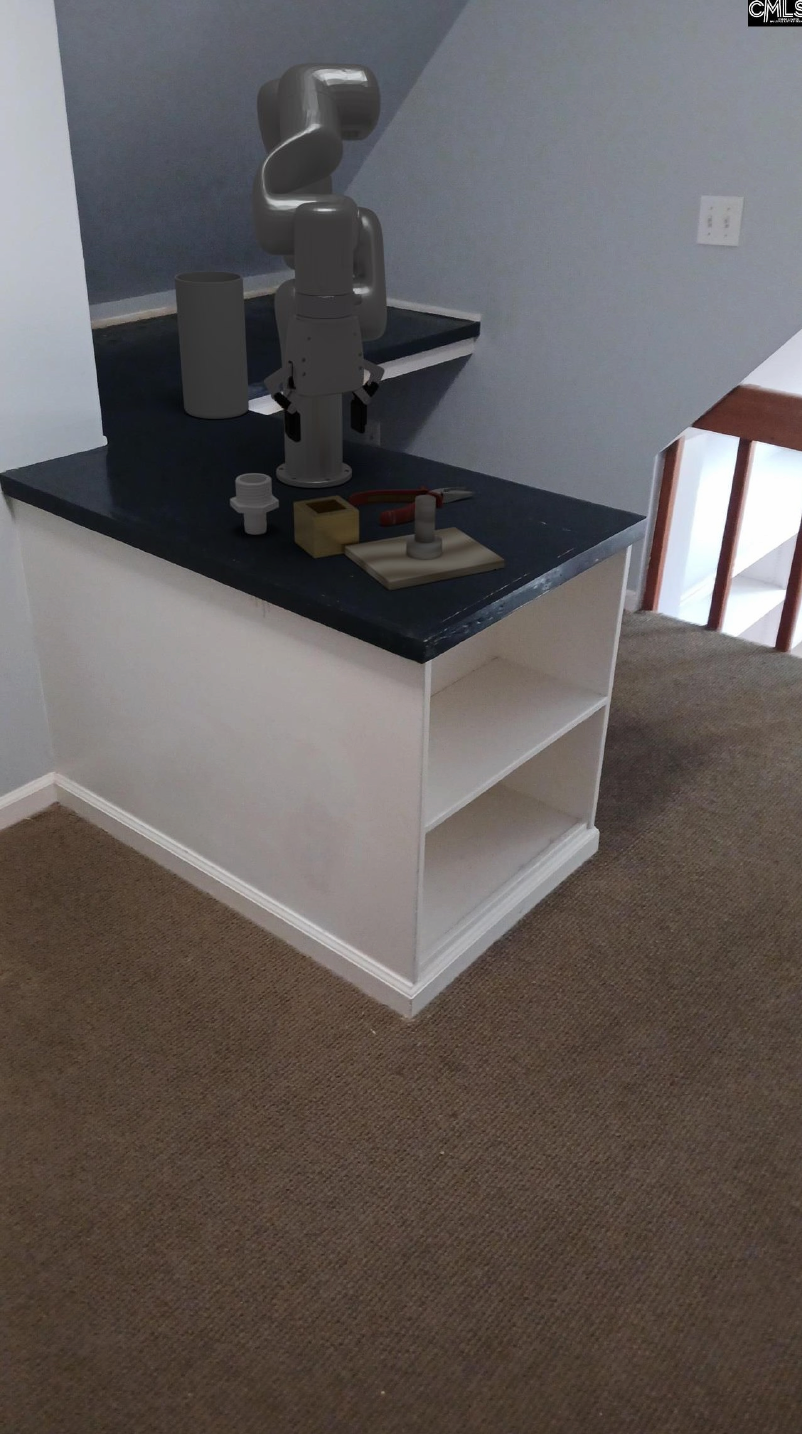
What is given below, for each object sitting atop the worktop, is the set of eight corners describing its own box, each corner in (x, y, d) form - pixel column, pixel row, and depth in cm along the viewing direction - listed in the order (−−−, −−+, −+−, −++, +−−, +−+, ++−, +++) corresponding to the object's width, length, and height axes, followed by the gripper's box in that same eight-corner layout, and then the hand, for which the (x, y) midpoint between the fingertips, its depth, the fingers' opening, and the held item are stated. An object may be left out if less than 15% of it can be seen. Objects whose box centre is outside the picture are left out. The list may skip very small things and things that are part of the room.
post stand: (344, 554, 166) (344, 492, 162) (454, 534, 174) (456, 474, 169) (389, 590, 156) (390, 525, 151) (504, 567, 163) (508, 504, 158)
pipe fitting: (266, 519, 178) (264, 468, 174) (284, 535, 172) (282, 483, 168) (227, 526, 175) (224, 474, 171) (244, 542, 170) (241, 489, 166)
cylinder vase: (256, 416, 226) (250, 281, 214) (193, 422, 222) (183, 284, 209) (239, 400, 236) (232, 269, 223) (178, 405, 232) (167, 272, 219)
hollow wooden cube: (294, 541, 170) (293, 502, 167) (338, 534, 173) (337, 495, 170) (314, 558, 165) (313, 517, 162) (359, 550, 168) (359, 510, 165)
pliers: (491, 508, 185) (492, 492, 184) (383, 530, 176) (383, 514, 175) (450, 487, 194) (451, 472, 192) (345, 508, 184) (345, 492, 183)
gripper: (370, 296, 159) (370, 421, 167) (251, 305, 151) (257, 435, 160) (396, 306, 153) (394, 435, 161) (274, 316, 146) (278, 451, 154)
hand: (326, 435), depth 161 cm, fingers open, 9 cm apart
